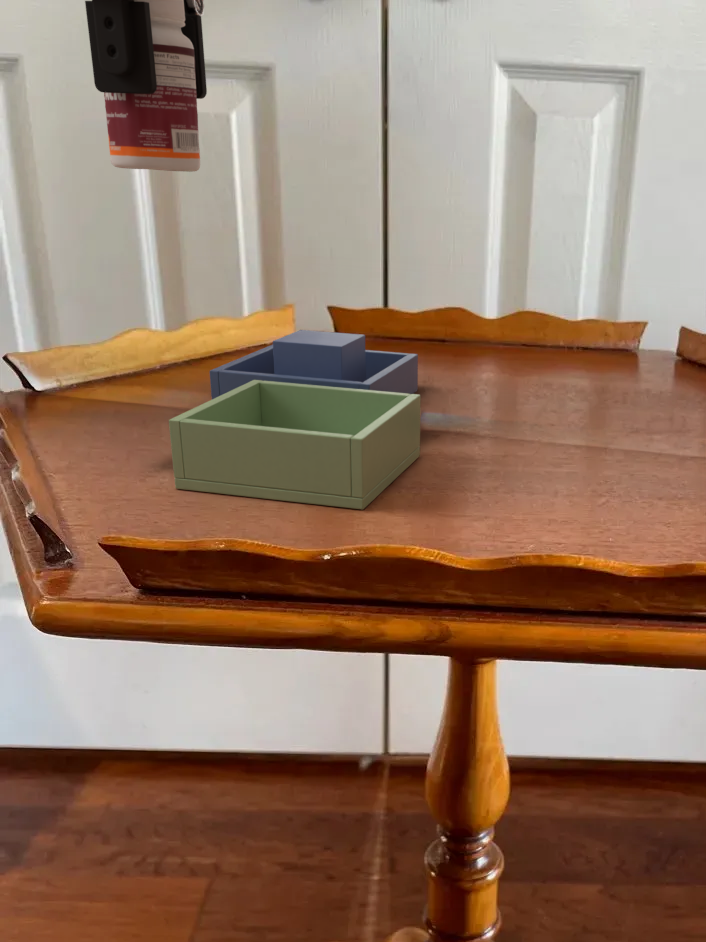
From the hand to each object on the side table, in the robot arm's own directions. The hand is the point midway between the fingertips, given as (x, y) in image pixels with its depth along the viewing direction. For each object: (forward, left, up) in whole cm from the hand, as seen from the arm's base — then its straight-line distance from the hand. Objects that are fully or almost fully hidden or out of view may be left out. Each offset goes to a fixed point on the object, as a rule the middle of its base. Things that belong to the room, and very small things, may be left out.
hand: (153, 91), depth 55 cm
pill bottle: (0, 0, -4) cm, 4 cm away
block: (+7, +6, -18) cm, 20 cm away
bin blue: (+7, +6, -18) cm, 21 cm away
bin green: (+10, -5, -18) cm, 22 cm away
